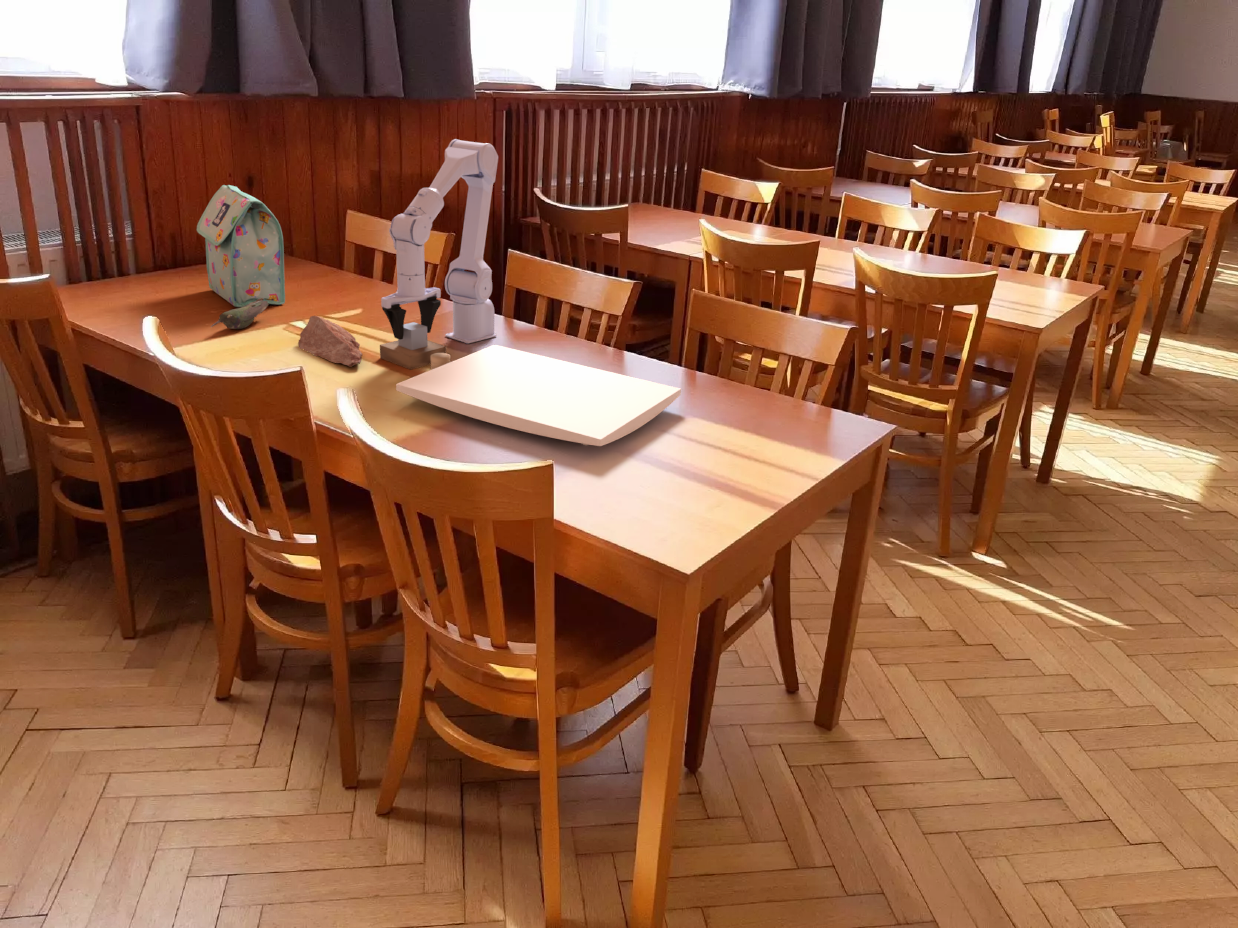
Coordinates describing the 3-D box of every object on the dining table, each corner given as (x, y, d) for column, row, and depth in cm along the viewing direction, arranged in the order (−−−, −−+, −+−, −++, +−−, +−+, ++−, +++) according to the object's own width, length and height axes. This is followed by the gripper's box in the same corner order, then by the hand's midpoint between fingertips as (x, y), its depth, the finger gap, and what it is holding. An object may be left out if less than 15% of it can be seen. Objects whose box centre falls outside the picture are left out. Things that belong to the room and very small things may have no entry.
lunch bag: (200, 290, 254) (188, 183, 243) (264, 284, 263) (255, 181, 252) (227, 312, 238) (215, 199, 227) (294, 305, 247) (285, 196, 236)
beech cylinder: (441, 374, 206) (441, 351, 204) (454, 379, 204) (454, 356, 202) (426, 378, 203) (426, 355, 201) (439, 383, 201) (439, 360, 199)
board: (679, 410, 196) (681, 388, 194) (599, 464, 170) (600, 439, 168) (494, 365, 215) (494, 344, 213) (396, 407, 189) (396, 384, 187)
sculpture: (202, 336, 220) (200, 314, 218) (261, 316, 236) (260, 296, 234) (219, 339, 218) (216, 317, 216) (277, 319, 235) (275, 299, 233)
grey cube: (414, 341, 216) (413, 322, 214) (427, 346, 213) (427, 326, 211) (398, 345, 213) (397, 325, 211) (411, 350, 210) (411, 330, 208)
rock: (336, 368, 202) (365, 330, 204) (286, 340, 218) (314, 305, 220) (369, 395, 209) (397, 358, 211) (319, 366, 226) (345, 332, 227)
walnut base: (416, 349, 221) (415, 336, 219) (446, 359, 215) (445, 346, 214) (380, 358, 213) (379, 344, 212) (410, 369, 208) (409, 355, 206)
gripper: (425, 264, 214) (426, 324, 219) (370, 274, 203) (373, 337, 209) (446, 270, 210) (447, 332, 215) (392, 280, 199) (395, 344, 205)
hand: (412, 335), depth 212 cm, fingers open, 7 cm apart
